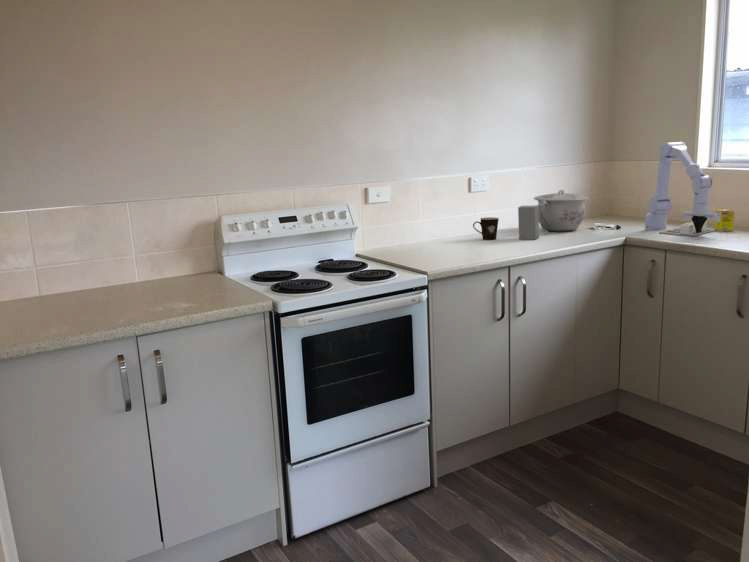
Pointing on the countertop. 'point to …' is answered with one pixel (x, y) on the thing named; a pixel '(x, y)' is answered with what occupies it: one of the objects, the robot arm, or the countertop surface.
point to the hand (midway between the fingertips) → (698, 232)
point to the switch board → (675, 231)
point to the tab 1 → (686, 229)
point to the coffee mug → (488, 228)
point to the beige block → (693, 227)
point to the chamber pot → (561, 211)
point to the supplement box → (724, 220)
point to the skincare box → (528, 222)
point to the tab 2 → (704, 227)
